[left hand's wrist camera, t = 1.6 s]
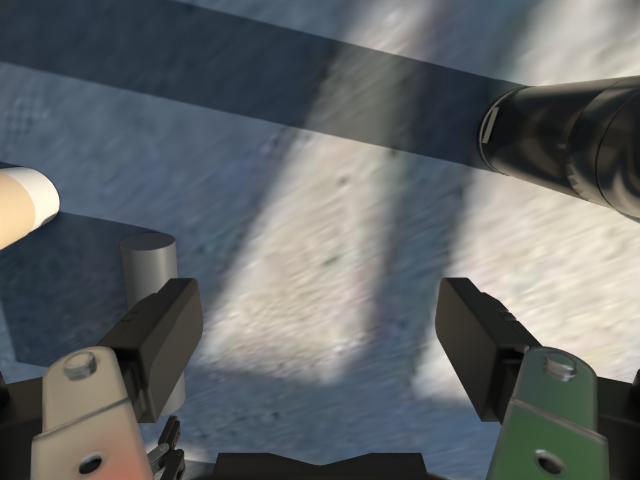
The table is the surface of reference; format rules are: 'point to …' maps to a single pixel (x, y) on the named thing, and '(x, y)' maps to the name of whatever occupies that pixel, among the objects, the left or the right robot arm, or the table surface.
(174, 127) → the table surface
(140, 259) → the cylinder
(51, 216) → the coffee cup
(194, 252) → the table surface
